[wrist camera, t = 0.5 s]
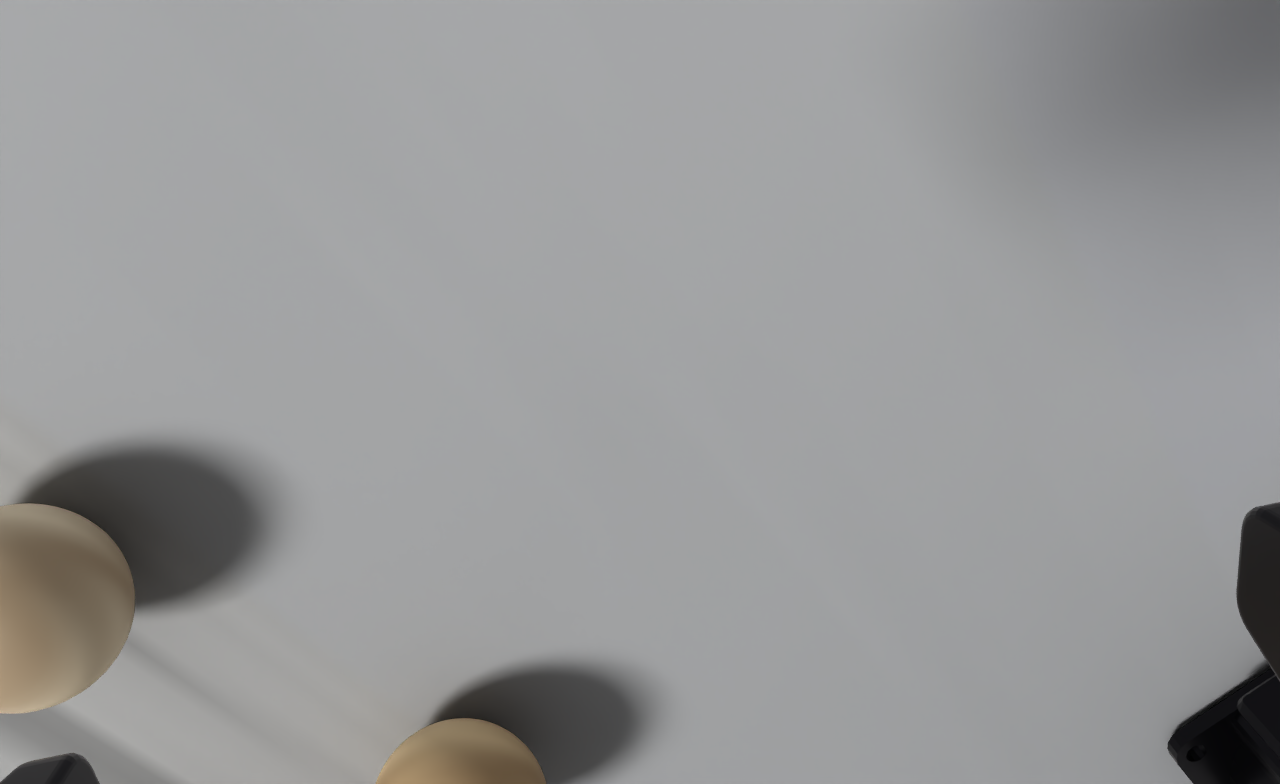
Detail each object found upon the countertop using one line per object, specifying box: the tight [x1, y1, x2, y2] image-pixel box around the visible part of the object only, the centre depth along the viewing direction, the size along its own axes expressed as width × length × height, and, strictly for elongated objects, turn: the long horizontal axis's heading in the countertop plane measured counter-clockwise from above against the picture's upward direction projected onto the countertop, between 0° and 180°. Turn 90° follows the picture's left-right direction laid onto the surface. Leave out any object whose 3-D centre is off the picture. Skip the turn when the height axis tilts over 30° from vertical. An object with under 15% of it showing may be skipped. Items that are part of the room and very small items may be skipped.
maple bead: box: [0, 503, 135, 714], centre depth 21 cm, size 4×4×4 cm
